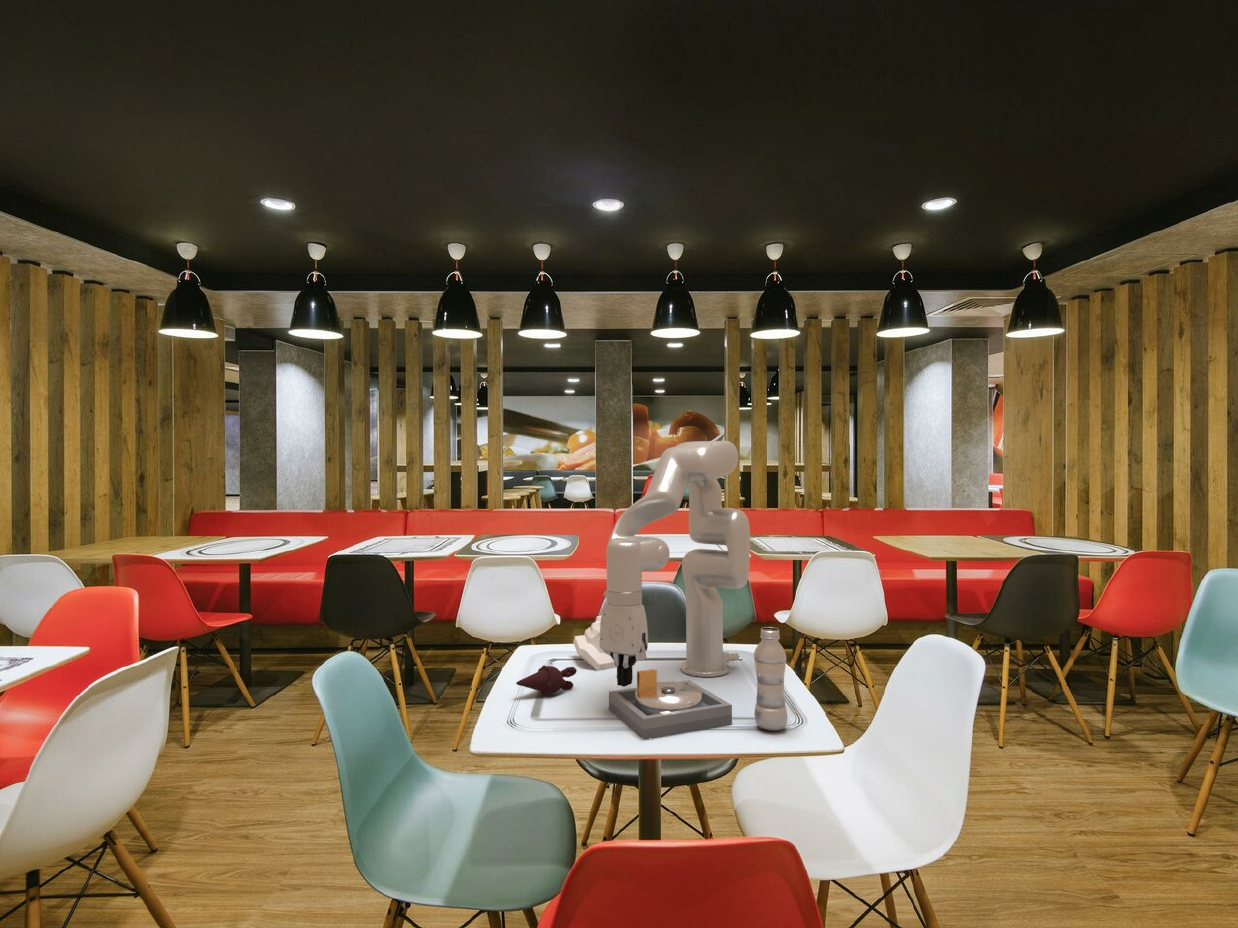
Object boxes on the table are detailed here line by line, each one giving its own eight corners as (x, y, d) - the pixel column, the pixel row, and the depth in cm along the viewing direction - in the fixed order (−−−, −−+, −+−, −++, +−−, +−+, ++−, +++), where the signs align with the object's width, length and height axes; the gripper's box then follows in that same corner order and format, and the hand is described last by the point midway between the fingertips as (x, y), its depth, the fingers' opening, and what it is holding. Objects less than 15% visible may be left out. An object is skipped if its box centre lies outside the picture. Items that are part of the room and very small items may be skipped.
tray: (689, 697, 153) (689, 678, 153) (732, 724, 137) (731, 703, 137) (608, 709, 146) (608, 689, 146) (643, 739, 129) (643, 717, 129)
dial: (681, 691, 150) (681, 656, 151) (714, 711, 137) (713, 673, 138) (624, 700, 145) (624, 663, 145) (653, 722, 132) (652, 681, 132)
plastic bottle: (769, 737, 130) (768, 634, 130) (747, 725, 136) (746, 627, 136) (794, 731, 133) (793, 630, 133) (772, 720, 139) (771, 624, 139)
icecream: (525, 677, 149) (584, 672, 156) (513, 660, 155) (571, 657, 163) (519, 705, 150) (578, 699, 157) (508, 688, 156) (565, 683, 164)
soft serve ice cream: (613, 659, 191) (626, 612, 190) (620, 680, 176) (634, 628, 175) (570, 650, 189) (584, 602, 188) (574, 670, 174) (588, 618, 173)
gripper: (586, 597, 144) (586, 682, 144) (642, 605, 135) (643, 696, 135) (607, 592, 150) (608, 674, 150) (663, 599, 141) (663, 686, 141)
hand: (624, 684), depth 142 cm, fingers closed
